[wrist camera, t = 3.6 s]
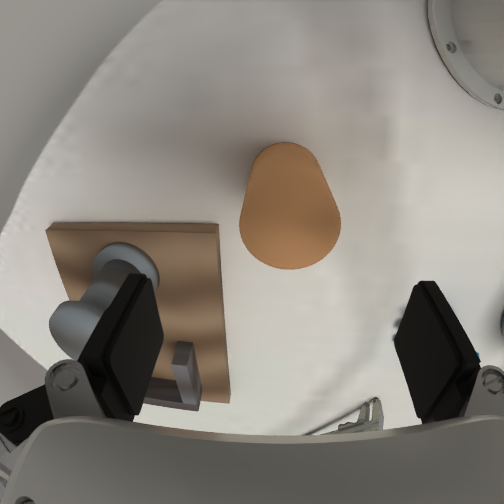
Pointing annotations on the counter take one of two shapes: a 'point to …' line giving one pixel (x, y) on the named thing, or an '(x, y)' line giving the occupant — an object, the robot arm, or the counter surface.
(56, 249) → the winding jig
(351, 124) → the counter surface
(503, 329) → the canister
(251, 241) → the tan oval solid
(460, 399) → the robot arm
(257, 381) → the counter surface
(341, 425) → the caliper
